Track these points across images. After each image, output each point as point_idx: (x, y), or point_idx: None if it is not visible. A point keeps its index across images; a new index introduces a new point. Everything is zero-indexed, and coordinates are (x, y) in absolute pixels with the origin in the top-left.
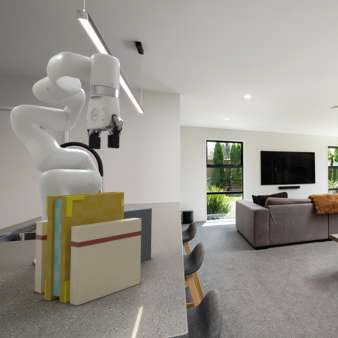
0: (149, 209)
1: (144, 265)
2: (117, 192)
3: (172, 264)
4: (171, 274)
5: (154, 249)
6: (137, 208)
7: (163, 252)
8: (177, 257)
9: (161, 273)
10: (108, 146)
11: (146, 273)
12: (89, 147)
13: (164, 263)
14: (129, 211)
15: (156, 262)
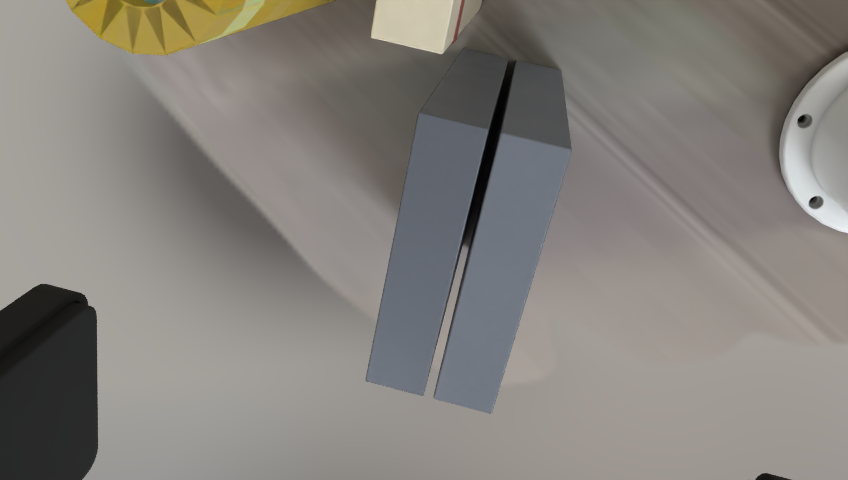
0: (369, 362)
1: (371, 148)
2: (134, 5)
3: (265, 184)
4: (167, 70)
5: (528, 370)
6: (447, 354)
7: (444, 333)
8: (322, 275)
9: (215, 71)
10: (36, 288)
11: (273, 56)
12: (770, 477)
13: (309, 190)
14: (393, 239)
15: (354, 195)
